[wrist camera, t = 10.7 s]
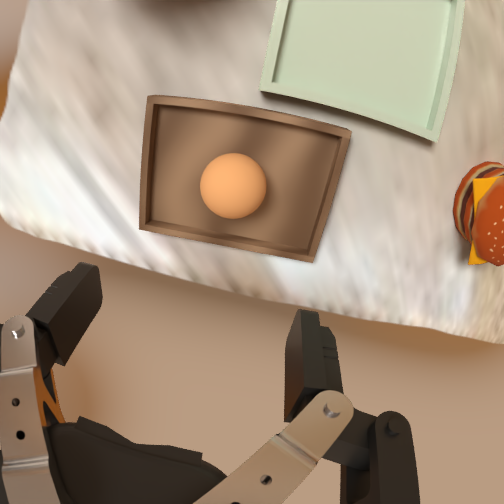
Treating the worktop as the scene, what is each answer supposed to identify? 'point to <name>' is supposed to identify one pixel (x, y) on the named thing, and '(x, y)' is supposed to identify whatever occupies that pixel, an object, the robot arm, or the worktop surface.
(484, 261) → the hamburger
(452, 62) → the dish
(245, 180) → the ball
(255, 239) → the tray
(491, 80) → the worktop surface
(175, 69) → the worktop surface
